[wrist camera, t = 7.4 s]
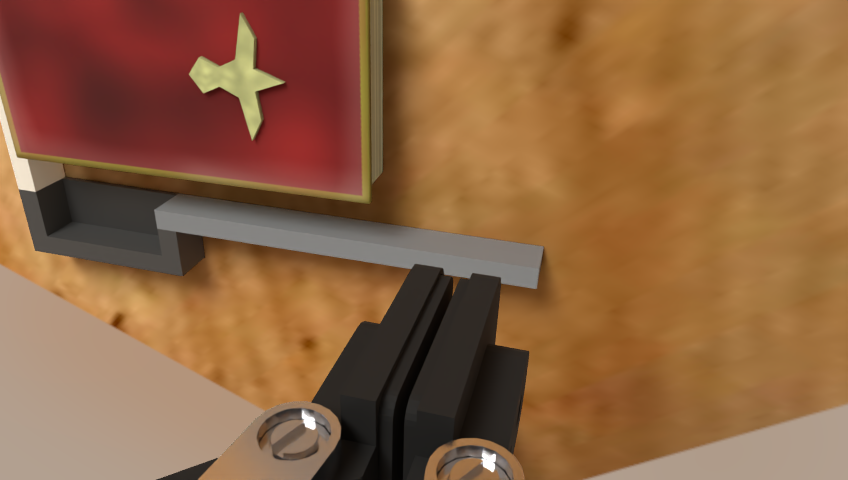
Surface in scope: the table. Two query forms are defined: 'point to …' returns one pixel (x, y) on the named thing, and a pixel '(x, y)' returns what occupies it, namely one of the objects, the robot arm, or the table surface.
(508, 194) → the table surface
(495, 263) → the grey u-shaped frame
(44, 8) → the hardcover book
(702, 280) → the table surface
